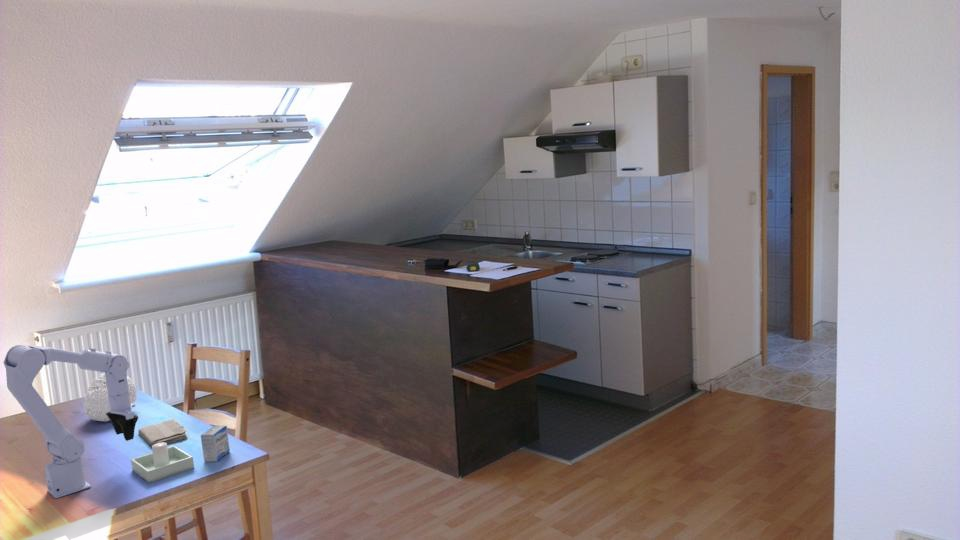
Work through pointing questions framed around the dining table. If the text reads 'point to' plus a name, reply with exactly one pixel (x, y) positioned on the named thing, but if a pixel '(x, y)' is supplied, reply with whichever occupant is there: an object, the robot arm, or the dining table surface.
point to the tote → (148, 471)
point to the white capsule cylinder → (160, 454)
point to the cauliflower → (102, 398)
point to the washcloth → (163, 432)
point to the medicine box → (215, 443)
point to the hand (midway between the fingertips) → (124, 436)
